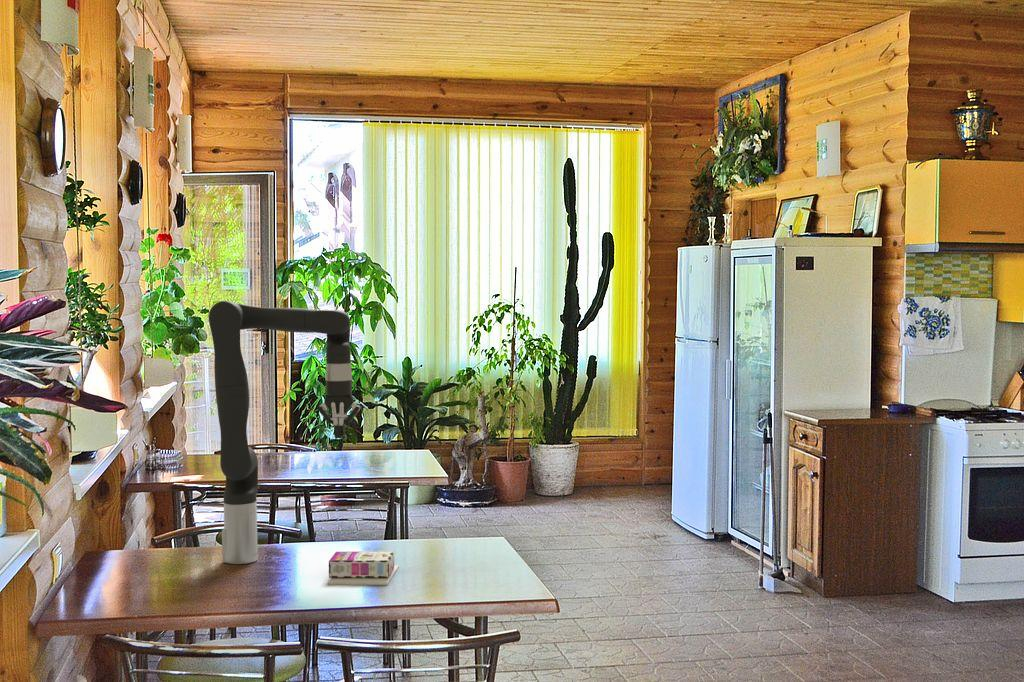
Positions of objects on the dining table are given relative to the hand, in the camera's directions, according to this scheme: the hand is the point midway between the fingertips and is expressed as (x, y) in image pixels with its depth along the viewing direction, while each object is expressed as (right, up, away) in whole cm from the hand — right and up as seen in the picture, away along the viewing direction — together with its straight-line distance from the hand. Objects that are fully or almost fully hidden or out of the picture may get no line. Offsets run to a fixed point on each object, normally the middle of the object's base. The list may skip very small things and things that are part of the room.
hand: (339, 437), depth 315 cm
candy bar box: (+1, -33, -18) cm, 38 cm away
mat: (+10, -36, -19) cm, 42 cm away
